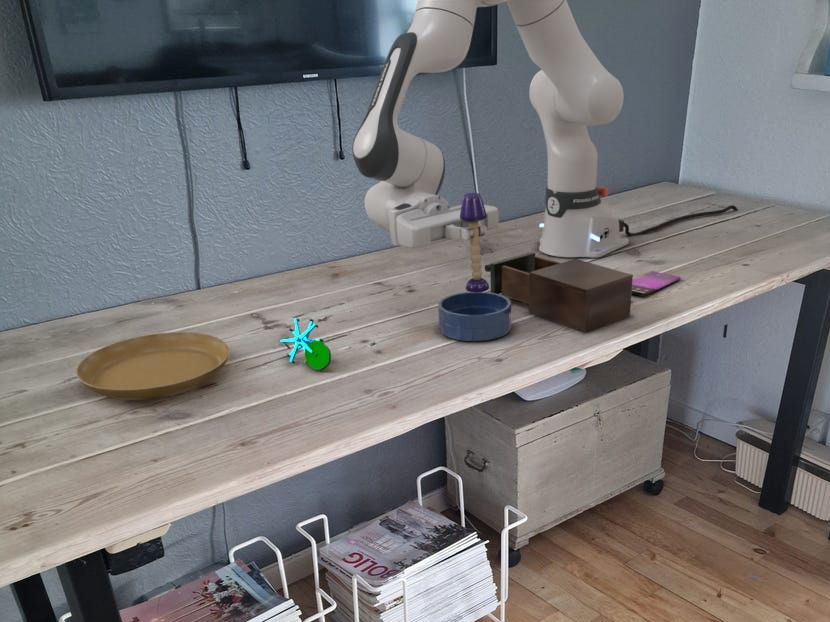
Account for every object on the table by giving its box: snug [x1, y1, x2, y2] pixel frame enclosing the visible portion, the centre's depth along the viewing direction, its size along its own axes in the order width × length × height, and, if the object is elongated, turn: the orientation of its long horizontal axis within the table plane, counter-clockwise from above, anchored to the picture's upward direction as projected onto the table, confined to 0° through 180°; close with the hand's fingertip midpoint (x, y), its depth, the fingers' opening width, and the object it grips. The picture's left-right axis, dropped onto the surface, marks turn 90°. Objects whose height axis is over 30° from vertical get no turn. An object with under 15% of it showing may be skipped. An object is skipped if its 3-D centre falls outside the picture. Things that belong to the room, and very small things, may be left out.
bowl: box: [437, 291, 512, 342], centre depth 161 cm, size 13×13×5 cm
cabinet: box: [528, 258, 634, 334], centre depth 166 cm, size 15×13×8 cm
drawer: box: [484, 251, 561, 305], centre depth 175 cm, size 18×11×6 cm, turn 41°
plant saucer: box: [75, 331, 230, 401], centre depth 145 cm, size 24×24×3 cm
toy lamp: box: [460, 192, 490, 292], centre depth 154 cm, size 5×5×17 cm
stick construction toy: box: [280, 317, 332, 371], centre depth 150 cm, size 12×7×8 cm
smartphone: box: [631, 270, 681, 297], centre depth 182 cm, size 7×15×1 cm, turn 140°
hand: (477, 233), depth 153 cm, fingers closed on toy lamp
